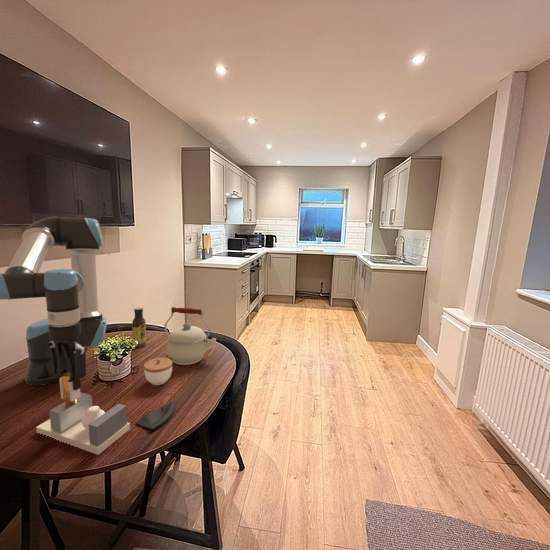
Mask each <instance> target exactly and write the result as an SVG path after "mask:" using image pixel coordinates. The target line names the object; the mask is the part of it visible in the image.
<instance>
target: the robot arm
mask: <svg viewBox="0 0 550 550" xmlns="http://www.w3.org/2000/svg"><path fill="white" fill-rule="evenodd" d="M21 241H22V242H21V243H20V245H19V247H18V249H17V251H16V253H15V254H14V256H13V258H12V260H11V261H10V263H9V265H8V266H7V268H6V270H5V272H4V273H2V272H0V300H8V301H10V300H18V299H19V300H21V299H35V298H37V299H38V298H45V302H46V311H47V314H46V315H47V318H46V319H42V320H38V321H36V322H33V323H31V324H30V325H28V326H27V328H26V329H25V331H26V337H25V339H26V343H27V344H26V345H27V346H26V347H27V353H28V355H27V356H28V364H27V368H26V371H25V375H24V381H25V382H26V383H28V384H32V385H31V386H33V385H39V386H42V385H41V384H46V385H49V384H48V383H51V384H54V383H53V382H55V383H57V381H58V384H59V388H60V389H59V390H60V398H61V399H62V400H65V396H64V384H63V375H64V374H66V373H69V374H70V380H68V381H69V393H70V401H74V400H76V399H78V398H79V397H81V394H80V393H81V387H82V386H81V379H82V378H83V379H84V378H85V377H86V376H87V373H86V369H87V367H86V366H87V364H86V363H87V362H86V361H87V359H86V358H87V357H86V356H87V355H86V353H87V352H88V351H87V350H88V348H92V347H98V346H97V345H98V344H99V343H100V342H103V341H104V342H105V340H106V339H105V337H106V331H107V317H103V313H102V312H101V311H100V310H99V305H98V303H99V302H98V301H99V300H98V285H97V284H98V282H97V281H98V280H97V263H96V255H97V254H98V253H99V251H100V247H103V246H104V241H103V235H102V231H101V227H100V223H99V221H98V220H97V219H96V218H89V217H70V216H69V217H68V216H67V217H66V216H64V217H63V216H48V217H45V218H42V219H39V220H37V221H35V222H33V223H31V224H30V225H28V226H27V228H25V229H24V231H23V233H22V234H21ZM56 246H59V247H65V251H66V252H67V253H69V254H70V264H71V265H70V266H71V269H70V268H68V269H67V268H59V269H51V270H50V269H49V270H46V271H45V272H40V271H41V268H42V265H43V263H44V260H45V258H46V256H47V253H48V251H49V250H50V249H51V248H53V247H56ZM104 342H103V343H104ZM26 383H25V384H26ZM28 384H27V385H28Z"/></svg>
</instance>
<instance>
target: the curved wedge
mask: <svg viewBox="0 0 550 550" xmlns="http://www.w3.org/2000/svg"><path fill="white" fill-rule="evenodd" d="M175 409H176V402H175V401H174V400H173V401H172V400H170V402H169V403H167V404H166V405H163V406H161V407H158V408H156V409H153V410H151V411H149V412H148V413H146V414H144V415H142V417H141V418H140V419H138V420H137V421H136V422H135V424H136V425H137V426H139V427H141V428H144V429H148V430H150V431H152V432H155V431H156V430H157V429H159V428H161V427H162V426H164V424H166V423H167V422H168V421H169V420H170V419H171V417H172V416H173V415H174V412H175Z"/></svg>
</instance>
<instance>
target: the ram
mask: <svg viewBox="0 0 550 550" xmlns="http://www.w3.org/2000/svg"><path fill="white" fill-rule="evenodd" d="M68 380H70V374H69V373H66V374H64V375H63V384H64V396H65V398H64V402H63V403H60V404H59V405H57V406H55V407H54V408H51V409H49V419H50V423H51V429H52V430H55V431H58V432H63V431H64V430H66V429H67V428H69V427H71V426H72V425H74V424H75V423H77V422H78V421H80V420H81V419H82V417H83V416H84V415H85V413H86V411H87V409H88V408H89V407H92V406H93V399H92V394H89V393H85V392H80V394H81V397H79V398H78V399H76V400H74V401H70V393H69V381H68Z"/></svg>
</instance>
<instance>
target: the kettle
mask: <svg viewBox="0 0 550 550" xmlns="http://www.w3.org/2000/svg"><path fill="white" fill-rule="evenodd" d="M170 309H171V315H170V316H169V318H168V319H167V320H166V322H165V323H164V331H165V335H166V339H167V341H168V342H167V345H166V353H167V355H168V356H169V357H170V359H171V360H172V362H173V363H174V364H176V365H181V366H186V365H187V366H189V365H194V364H196V363H199V362H200V361H202V359H203V357H204V355H205V354H206V353H207V352H208V351H209V350H211V348H212V346H213V345H215V344H214V343H216V340H217V338H216V337H212V338H211V340H210V341H209V340H208V338H209V335H210V333H211V327H210V324H209V323H208V321H207V320H206V319H205V318H204V316H203V315H204V313H203V312H204V311H203V308H199V309H197V308H192V307H191V308H190V307H175V306H172V307H171V308H170ZM174 313H177V314H178V313H179V314H188V315H189V314H190V315H196V314H198V315H200V318H201V320H202V321H203V322H204V324H205V325H206V326H207V328H208V333H205V331H204V330H202V329H201V328H200V327H198V326H196V325H195V326H193V325H192V324H191V322H188V321H186V322H185V323H184V324H183V325H182V326H179V327H178V328H175V329H173V330H172V331H171V333H170V334H169V331H168V328H167V325H168V322H169V320H171V318H172V317H173V316H174Z"/></svg>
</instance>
